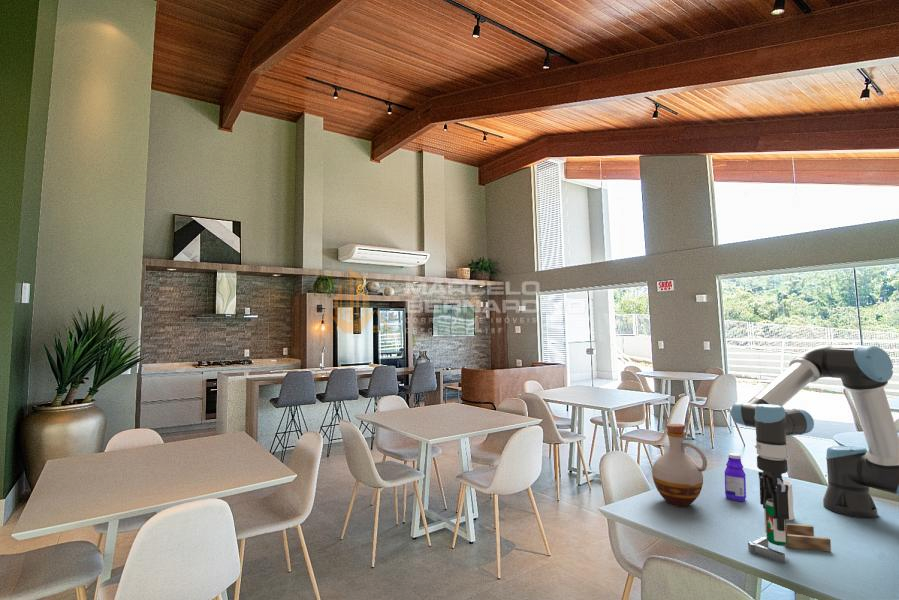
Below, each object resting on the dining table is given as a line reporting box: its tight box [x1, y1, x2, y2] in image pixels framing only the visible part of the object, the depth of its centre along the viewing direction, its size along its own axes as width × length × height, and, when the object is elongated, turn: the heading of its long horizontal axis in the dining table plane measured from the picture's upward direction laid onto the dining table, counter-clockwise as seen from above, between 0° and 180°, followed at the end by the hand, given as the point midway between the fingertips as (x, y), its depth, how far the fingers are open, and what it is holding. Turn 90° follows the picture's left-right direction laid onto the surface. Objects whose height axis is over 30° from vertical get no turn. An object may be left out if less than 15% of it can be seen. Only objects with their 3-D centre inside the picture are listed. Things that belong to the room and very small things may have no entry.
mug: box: [775, 479, 795, 521], centre depth 163 cm, size 12×8×12 cm
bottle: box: [724, 452, 747, 502], centre depth 181 cm, size 7×6×17 cm
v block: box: [747, 536, 786, 565], centre depth 136 cm, size 7×12×2 cm, turn 167°
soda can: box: [764, 499, 788, 547], centre depth 136 cm, size 5×5×12 cm
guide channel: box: [784, 522, 832, 552], centre depth 143 cm, size 12×10×4 cm
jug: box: [651, 423, 708, 508], centre depth 176 cm, size 20×18×30 cm
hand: (775, 536), depth 135 cm, fingers closed on soda can, 5 cm apart
